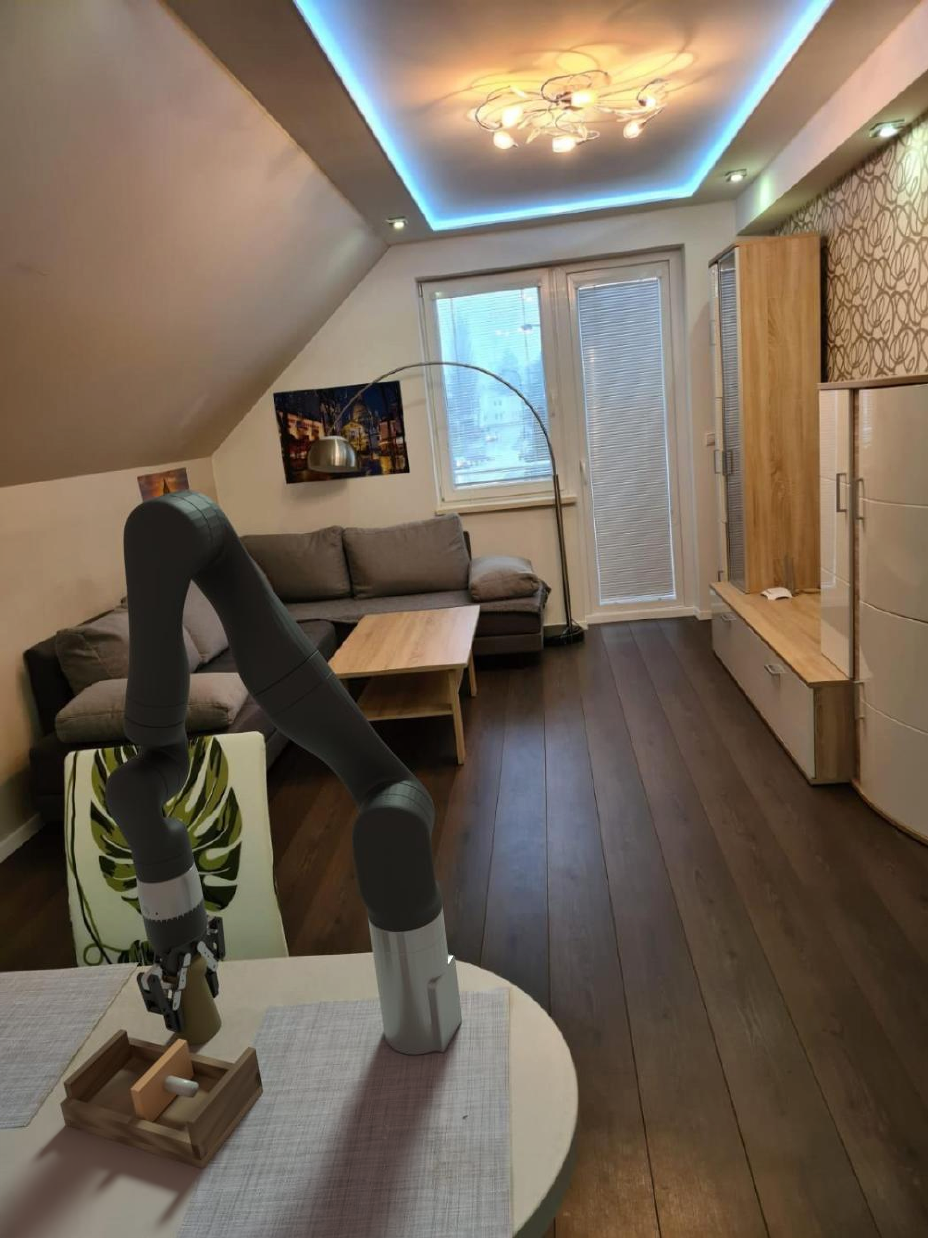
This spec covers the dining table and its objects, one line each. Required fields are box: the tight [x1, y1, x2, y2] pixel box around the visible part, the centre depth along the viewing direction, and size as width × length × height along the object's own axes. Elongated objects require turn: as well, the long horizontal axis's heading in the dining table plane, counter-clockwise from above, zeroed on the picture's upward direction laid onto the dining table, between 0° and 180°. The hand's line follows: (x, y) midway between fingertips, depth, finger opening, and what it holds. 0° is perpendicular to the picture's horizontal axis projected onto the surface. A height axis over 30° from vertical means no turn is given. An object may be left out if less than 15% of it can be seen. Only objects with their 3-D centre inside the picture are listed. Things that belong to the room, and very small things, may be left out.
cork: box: [166, 954, 222, 1047], centre depth 110 cm, size 6×6×11 cm
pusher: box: [131, 1039, 198, 1122], centre depth 97 cm, size 5×8×5 cm, turn 158°
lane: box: [59, 1028, 264, 1169], centre depth 98 cm, size 20×11×6 cm, turn 68°
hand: (194, 1012), depth 111 cm, fingers open, 6 cm apart
